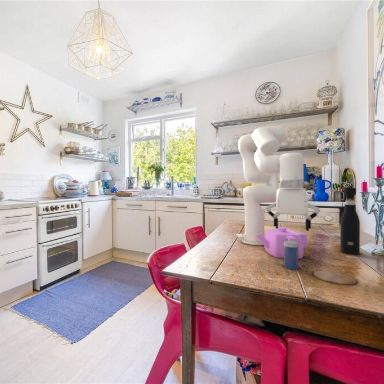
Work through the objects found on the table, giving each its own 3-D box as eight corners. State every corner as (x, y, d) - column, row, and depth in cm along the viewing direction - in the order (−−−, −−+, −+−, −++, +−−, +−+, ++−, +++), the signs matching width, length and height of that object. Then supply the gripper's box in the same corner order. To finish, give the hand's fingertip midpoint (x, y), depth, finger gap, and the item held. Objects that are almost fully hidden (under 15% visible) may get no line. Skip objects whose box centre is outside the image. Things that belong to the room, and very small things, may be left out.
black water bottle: (351, 250, 111) (351, 187, 110) (363, 254, 105) (364, 187, 104) (336, 250, 112) (337, 187, 111) (348, 254, 106) (348, 188, 104)
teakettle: (295, 262, 97) (296, 232, 97) (254, 252, 111) (254, 227, 111) (311, 254, 107) (311, 227, 106) (271, 246, 121) (271, 223, 120)
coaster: (315, 280, 79) (315, 279, 79) (311, 269, 89) (311, 268, 89) (360, 287, 73) (360, 286, 73) (351, 275, 83) (351, 274, 83)
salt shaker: (284, 268, 91) (284, 242, 91) (283, 264, 95) (283, 240, 94) (298, 270, 88) (298, 244, 88) (297, 266, 92) (297, 241, 92)
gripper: (318, 184, 89) (318, 229, 89) (265, 185, 98) (266, 226, 99) (321, 184, 83) (321, 232, 83) (265, 185, 92) (265, 229, 92)
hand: (291, 229), depth 91 cm, fingers open, 9 cm apart
